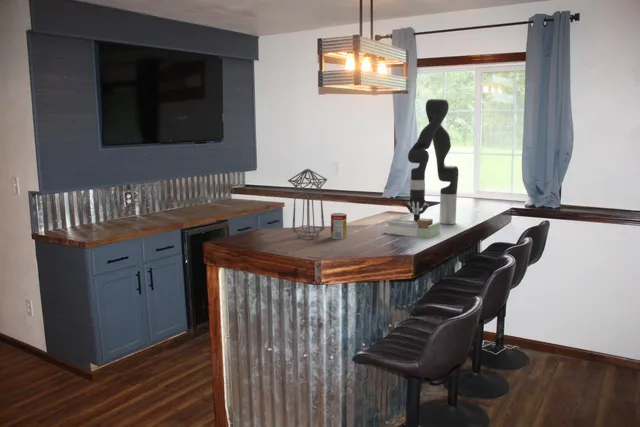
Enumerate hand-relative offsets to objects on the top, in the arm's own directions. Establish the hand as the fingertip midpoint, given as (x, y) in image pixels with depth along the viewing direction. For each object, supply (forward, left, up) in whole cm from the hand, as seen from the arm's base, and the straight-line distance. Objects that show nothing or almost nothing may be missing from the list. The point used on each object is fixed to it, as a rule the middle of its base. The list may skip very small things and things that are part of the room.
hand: (416, 221), depth 287 cm
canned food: (+30, -29, -7) cm, 43 cm away
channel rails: (0, -5, -2) cm, 6 cm away
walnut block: (0, +5, -2) cm, 5 cm away
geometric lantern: (+40, -41, -7) cm, 58 cm away
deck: (0, -2, -6) cm, 7 cm away
